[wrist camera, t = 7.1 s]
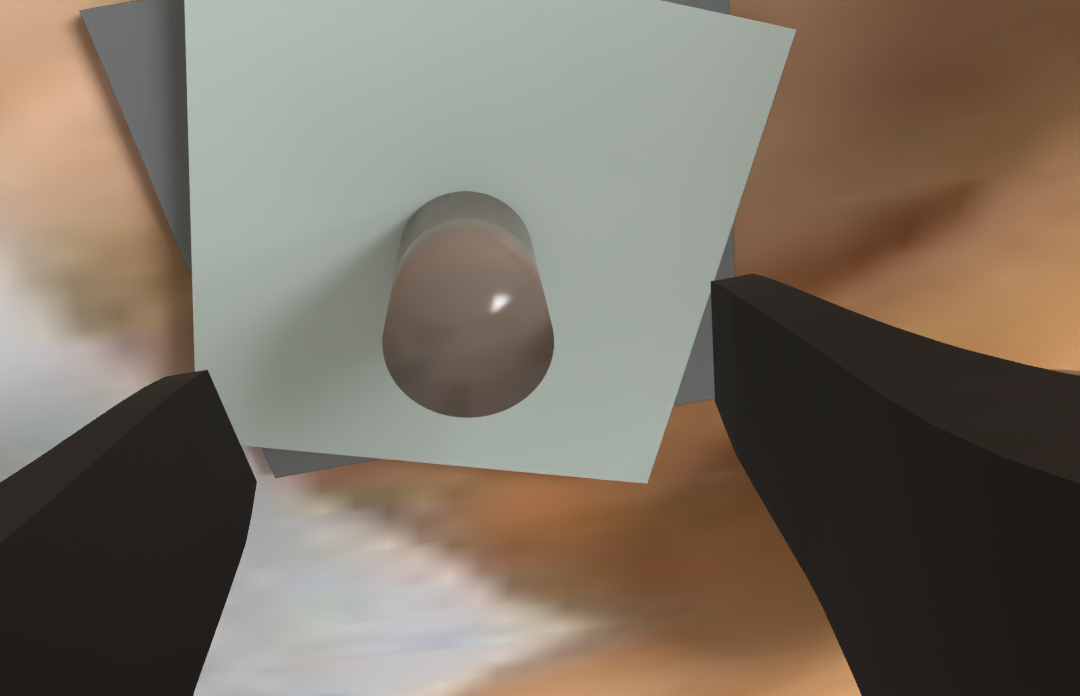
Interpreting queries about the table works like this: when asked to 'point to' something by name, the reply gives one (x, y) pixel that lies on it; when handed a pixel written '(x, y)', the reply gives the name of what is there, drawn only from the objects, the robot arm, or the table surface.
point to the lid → (464, 219)
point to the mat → (162, 141)
